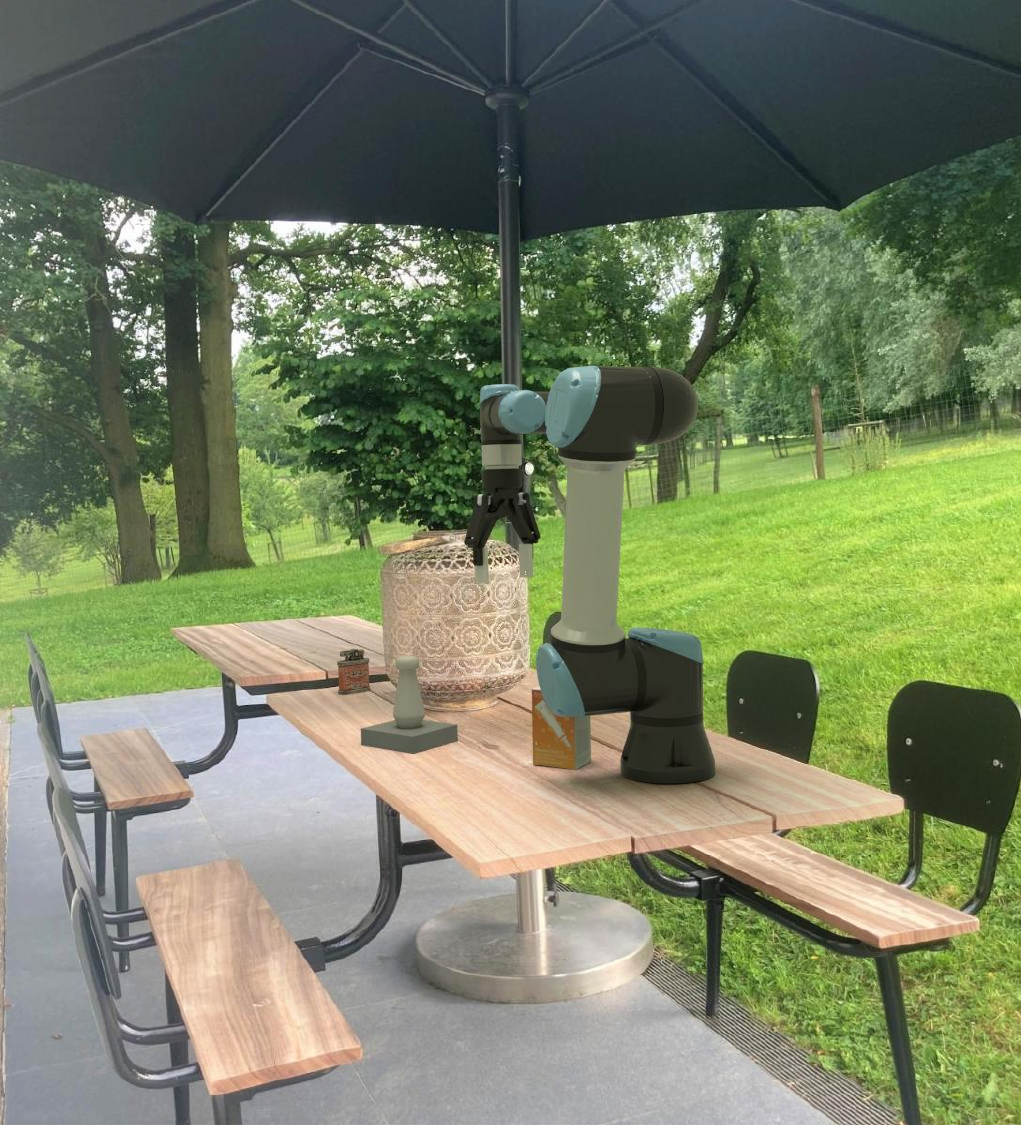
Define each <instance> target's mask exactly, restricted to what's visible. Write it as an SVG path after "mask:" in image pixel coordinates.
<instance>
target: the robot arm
mask: <svg viewBox="0 0 1021 1125" xmlns="http://www.w3.org/2000/svg"><path fill="white" fill-rule="evenodd" d="M552 383H553V384H552V385H551V387H550V390H549V391H532V390H529V389H523V390H522V389H520V388H519V386H518V385H515V384H511V383H510V384H509V383H507V384H504V383H503V384H502V383H501V384H499V383H498V384H496V383H495V384H490V385H488V384H487V385H484V386H482V387H481V388H480V392H479V394H480V396H479V402H478V407H479V413H480V415H479V417H480V418H479V419H480V440H481V443H480V444H481V465H482V467H484V468H485V469H483V470H482V471H481V482H482V483H481V485H482V488H483V489H484V490H485V491H486V493H485V494H483V493H482V494H478V493H476V494H475V495H474V501H473V509H472V513H471V517H470V519H469V523H468V526H467V530H466V534H465V537H464V541H463V544H464V545H466V546H467V548H469V549H472V563H473V566H474V584H481V585H482V584H483V585H484V584H485V585H488V584H489V583H490V581H489V574H490V573H489V548H486V547H485V546H486V544H487V542H488V541H489V538H490V536H491V535H492V532H493V530H494V528H495V526H496V524H497V521H499V520H500V519H501V518H506V519H508V520H509V522H510V523H511V525H512V527H513V529H514V531H515V532H516V534H517V536H518V538H519V540H520V542H521V543H519V544H518V556H519V557H518V558H519V559H518V562H519V564H518V565H519V578H528V579H531V578H534V562H533V561H534V544H538V542H539V540H541V537H542V536H541V533H540V530H539V527H538V524H537V521H536V518H535V515H534V511H533V508H532V505H531V501H530V493H529V492H519V491H518V490H519V489H521V488H522V486H523V470H521V468H519V466H522V464H523V462H522V461H523V459H522V438H521V437H522V436H521V435H522V434H523V435H524V434H525V435H529V434H531V435H534V434H535V435H536V434H537V435H538V434H540V435H541V434H546V438H547V440H548V442H549V443H550V444H551V445H552V446H553V447H556V448H557V457H558V459H559V460H560V461H561V462H562V463H563V465H565V466H566V468H567V472H566V473H567V474H566V492H565V493H566V494H565V495H566V496H565V499H566V500H565V517H564V518H565V519H564V541H563V542H564V543H563V562H562V563H563V564H562V565H563V566H562V568H563V569H562V589H561V591H562V592H561V611H560V614H561V616H560V620H559V621H558V622H557V623H555V625H553V626H552V628H551V629H550V642H545V643H544V644H541V645H539V646H538V648H537V652H536V656H535V668H536V675H537V676H536V677H537V682H538V685H539V686H540V689H541V692H542V695H543V698H544V700H545V702H546V704H547V706H548V708H549V709H550V710H551V711H552V712H553V713H554V714H555V715H557V716H559V717H579V718H583V717H584V716H590V717H593V716H603V715H611V714H612V715H613V714H623V713H629V715H630V717H629V718H630V724H629V729H628V733H627V736H626V738H625V743H624V745H623V749H622V753H621V755H620V759H619V761H620V762H619V764H620V765H619V766H620V774H621V776H623V777H624V778H627V779H630V780H634V781H637V782H643V783H649V784H650V783H653V784H670V785H672V784H687V783H695V782H699V781H704V780H707V779H710V778H712V777H713V776H715V774H716V759H715V755H714V754H713V753H714V752H713V750H712V747H711V744H710V741H709V737H708V735H707V733H706V729H705V725H704V672H703V671H704V669H703V668H704V657H703V656H704V655H703V648H702V642H701V640H700V638H699V637H697V636H696V635H694V634H692V633H689V632H685V631H679V630H671V629H663V628H653V627H632V628H629V630H628V633H627V638H626V631H625V630H624V629H623V628H622V627H621V626H620V625H619V623H618V622H617V621H618V619H617V617H618V601H619V600H618V597H619V581H620V564H621V563H620V562H621V546H622V545H621V542H622V525H623V504H624V486H625V471H626V469H627V468H628V467H630V466H631V465H632V463H633V464H634V462H635V461H636V454H637V446H646V445H650V446H651V445H660V444H665V443H669V442H672V441H675V440H676V439H679V438H680V437H681V436H683V435H685V434H686V433H687V432H688V431H689V430H690V428H692V426H693V424H694V423H695V421H696V419H697V415H698V411H699V402H698V400H699V399H698V396H697V392H696V390H695V388H694V387H693V385H692V384H691V382H690V381H689V380H688V379H687V378H686V377H684V376H683V375H682V374H680V373H678V372H676V371H674V370H673V369H669V368H665V367H657V366H611V365H609V366H608V365H607V366H604V365H602V366H601V365H587V366H576V367H568V368H566V369H564V370H563V371H561V372H559V374H558V375H557V377H556V378H555V380H554V381H553V382H552ZM525 571H526V573H525ZM525 574H526V575H525Z"/></svg>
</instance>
